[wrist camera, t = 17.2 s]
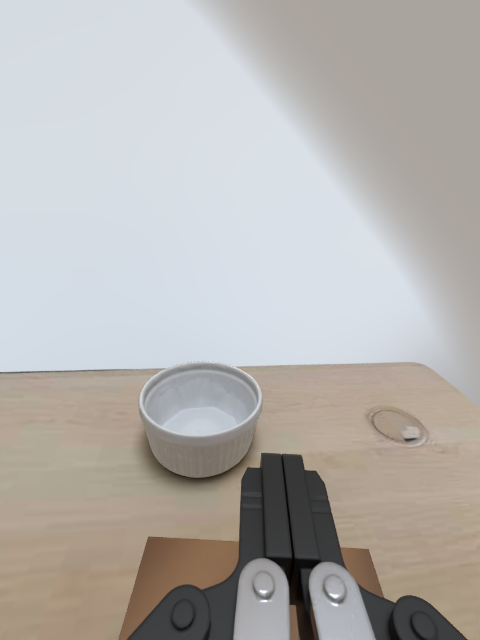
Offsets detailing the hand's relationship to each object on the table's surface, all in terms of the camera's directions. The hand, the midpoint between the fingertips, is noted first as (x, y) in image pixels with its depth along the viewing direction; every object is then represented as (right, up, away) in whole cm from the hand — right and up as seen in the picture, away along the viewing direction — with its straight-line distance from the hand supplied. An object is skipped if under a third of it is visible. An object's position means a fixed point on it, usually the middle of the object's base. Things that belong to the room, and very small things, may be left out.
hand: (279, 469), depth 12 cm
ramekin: (-6, -9, +25) cm, 27 cm away
